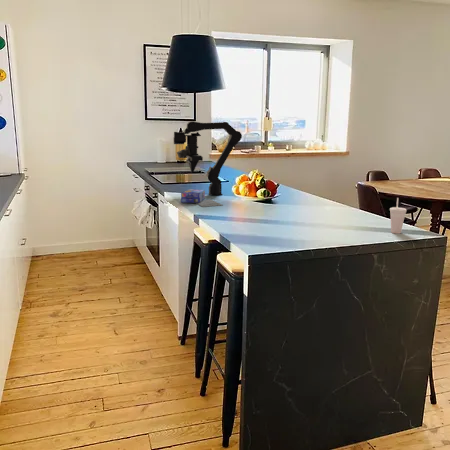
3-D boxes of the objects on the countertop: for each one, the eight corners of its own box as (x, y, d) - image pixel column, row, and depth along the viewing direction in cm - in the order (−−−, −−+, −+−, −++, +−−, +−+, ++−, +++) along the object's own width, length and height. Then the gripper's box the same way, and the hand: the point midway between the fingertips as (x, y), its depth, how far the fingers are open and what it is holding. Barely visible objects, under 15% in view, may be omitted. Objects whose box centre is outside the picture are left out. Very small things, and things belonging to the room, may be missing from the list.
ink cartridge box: (204, 189, 254) (197, 193, 240) (205, 199, 255) (198, 204, 241) (187, 188, 256) (179, 193, 242) (187, 198, 257) (179, 204, 243)
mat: (211, 200, 254) (211, 199, 254) (222, 205, 240) (222, 205, 240) (192, 201, 250) (192, 200, 250) (202, 206, 236) (202, 206, 236)
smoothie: (384, 230, 192) (388, 196, 189) (400, 230, 193) (403, 196, 189) (391, 234, 186) (395, 199, 183) (407, 234, 186) (410, 199, 183)
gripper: (173, 143, 268) (173, 170, 272) (183, 145, 252) (183, 174, 255) (192, 143, 273) (192, 170, 276) (203, 145, 256) (202, 174, 259)
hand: (192, 172), depth 267 cm, fingers closed
